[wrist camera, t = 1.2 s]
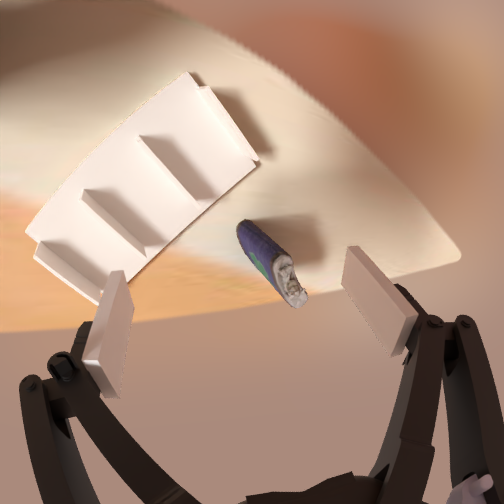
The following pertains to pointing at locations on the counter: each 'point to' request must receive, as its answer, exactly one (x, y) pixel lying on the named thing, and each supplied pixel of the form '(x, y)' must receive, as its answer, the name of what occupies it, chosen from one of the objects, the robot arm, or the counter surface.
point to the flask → (271, 262)
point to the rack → (141, 187)
